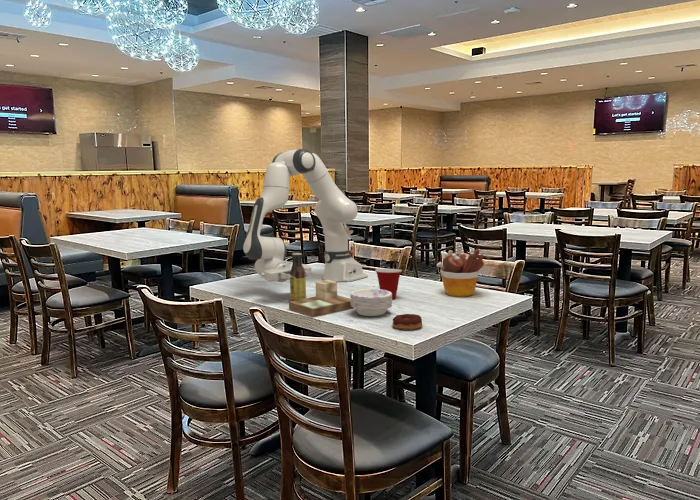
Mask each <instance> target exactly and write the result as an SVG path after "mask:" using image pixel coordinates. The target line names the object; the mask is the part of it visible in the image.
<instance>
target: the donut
mask: <svg viewBox="0 0 700 500" xmlns="http://www.w3.org/2000/svg"><path fill="white" fill-rule="evenodd" d="M422 320H423V319H422V316H421V315H419V314H415V313H403V314H397V315H395V316H394V317H393V318H392V326H393V327H394V328H395V329H399V330H403V331H413V330H418V329H420V328H422V327H423V321H422Z"/></svg>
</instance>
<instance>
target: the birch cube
mask: <svg viewBox="0 0 700 500" xmlns="http://www.w3.org/2000/svg"><path fill="white" fill-rule="evenodd" d="M314 285H315V296H316V297H317V298H321V299H325V300H326V299H331V298H335V297H337V295H338V282H334V281H330V280H320V281H315V283H314Z"/></svg>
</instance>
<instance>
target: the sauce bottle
mask: <svg viewBox="0 0 700 500" xmlns="http://www.w3.org/2000/svg"><path fill="white" fill-rule="evenodd" d="M291 258H292V261H293V263H292V268H291V271H290V274H292V279H289V289H290V290H289V292H290V295H289V296H290V301H295V300H300V299H305V298H307V289H306V288H307V285H306V284H307V281H306V277H307V276H305V269H304V267H303V266H302V264H303V259H302V258H303V253H301V252H294V253H291Z"/></svg>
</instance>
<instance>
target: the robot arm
mask: <svg viewBox="0 0 700 500" xmlns="http://www.w3.org/2000/svg"><path fill="white" fill-rule="evenodd" d="M301 174H302V175H303V178H304V180H305V181H306V183H307V186H308V187H309V189H310V190H311V192H312V194H313V195H314V197H315V198H317V199H318V201H317V202H316V204H315V207H314V214H315V216H316V217H317V218H318V219H319V221H320V223H321V226H322V231H324V233H323V234H324V248H325V250H324V261H325V262H324V271H323V276H322V281H324V280H330V281H334V282H337V283H338V282H344V283H346V282H353V281H357V280H361V279H364V278H368V274H367V273H364V271H363V267H362V264H361V263H360V262H358V261H357V260H356V259H354V258H353V257H352V255H355V254H356V250H352V249H351V250H350V249H349V239H348V234H347V232H346V231H345V230H344V228H343V227H344V225H343V226H342V223H348V222H352V221H353V220H355V219H356V217H357V215H358V206H357V204H356V203H355V202H354V201H353V200H351V199H349V198H348V197H347V196H346V194H344V192H343V191H342V190H341V189H340V188H339V187H338V186H337V185H336V183H335V181H334V179H333V178H332V176H331V174H330V172H329V170H328V169H327V167H326V165H325V164H324V162H323V161H322V159H321V158H320V156H319V155H318V154H316V153H313V152H311V151H310V150H308V149H307V148H306V149H305V148H299V149H290V150H287V151H284V152H279V153H277V154H276V155H275V156H274V157H273V158H272V161H271V162H270V163H269V164H268V165H267V167H266V170H265V174H264V178H263V190H262V191H261V192H262V193H261V194H260V197H258V198H256V200H255V202H254V204H253V206H252V211H251V216H250V221H249V225H248V230H247V233H246V236H245V238H244V241H243V246H242V251H243V253H244V255H245V256H246V257H247V258H248V259H249V260H251V261H252V260H253V261H254V260H256V261H255V263H254V270H255V272H256V274H258V275H259V276H260V277H262V278H264V280H266V281H268V282H279V283H284V282H286V281H287V280H289V281H290V279H292V274H290V271H291V268H292V263H293V260H291V261H287V260H286V257H287V250H288V249H287V245H286V243H285V241H284V239H282V237H275V236H274V237H273V236H272V237H271V236H261V230H262V227H263V221H264V218H265V216H266V214H267V213H269V212H272V211H275V210H278V209H281V208H282V207H284V206H285V205H286V204H287V202H288V200H289V196H290V179H291V177H292V176H299V175H301ZM302 266H303V267H304V269H305V277H308V276H311V275H312V272H313V271H312V270H313V269H312V266H311V265H308V264H305V263H302Z"/></svg>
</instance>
